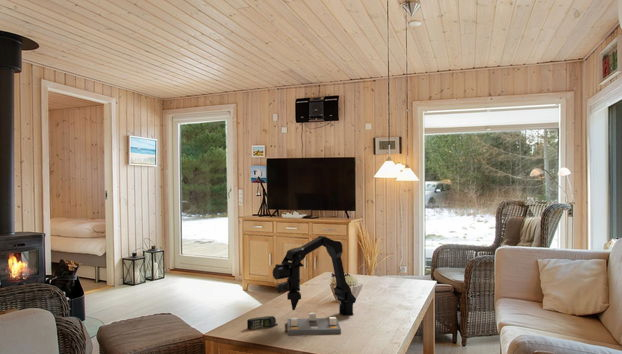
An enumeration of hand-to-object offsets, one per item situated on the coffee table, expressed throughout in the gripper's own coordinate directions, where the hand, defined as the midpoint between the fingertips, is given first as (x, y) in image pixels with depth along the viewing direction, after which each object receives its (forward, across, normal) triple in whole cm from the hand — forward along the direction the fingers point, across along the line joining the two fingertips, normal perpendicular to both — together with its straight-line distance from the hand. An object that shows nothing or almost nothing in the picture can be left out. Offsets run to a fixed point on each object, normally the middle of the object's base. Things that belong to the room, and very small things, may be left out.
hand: (293, 309), depth 202 cm
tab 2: (+6, +4, +18) cm, 19 cm away
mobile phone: (+9, -1, -14) cm, 17 cm away
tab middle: (+6, -3, +9) cm, 11 cm away
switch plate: (+8, +2, +9) cm, 12 cm away
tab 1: (+6, +4, 0) cm, 7 cm away
